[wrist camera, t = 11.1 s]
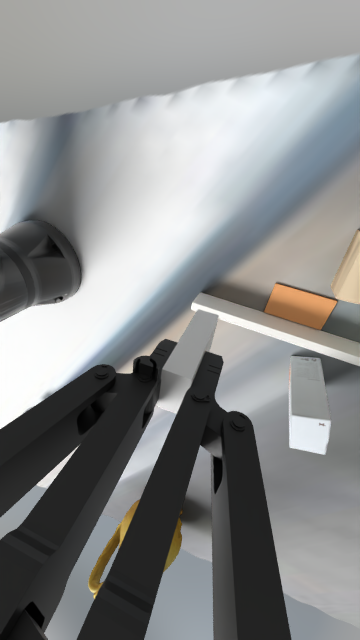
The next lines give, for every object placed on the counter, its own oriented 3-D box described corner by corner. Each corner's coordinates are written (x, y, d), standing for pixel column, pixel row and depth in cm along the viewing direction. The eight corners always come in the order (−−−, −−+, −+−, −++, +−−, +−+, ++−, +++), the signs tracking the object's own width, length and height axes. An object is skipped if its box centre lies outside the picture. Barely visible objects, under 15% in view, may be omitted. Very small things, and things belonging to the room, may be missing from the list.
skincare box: (289, 354, 39) (290, 413, 29) (320, 356, 37) (333, 420, 27) (288, 385, 41) (288, 448, 31) (317, 388, 40) (327, 456, 30)
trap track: (198, 298, 40) (184, 318, 34) (236, 138, 28) (224, 127, 23) (384, 359, 34) (404, 395, 28) (523, 188, 23) (604, 190, 17)
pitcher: (182, 530, 79) (142, 647, 59) (133, 497, 83) (79, 596, 63) (197, 507, 70) (156, 636, 50) (141, 472, 75) (81, 577, 54)
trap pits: (264, 311, 37) (263, 312, 37) (326, 159, 27) (326, 159, 26) (374, 346, 34) (375, 347, 33) (493, 189, 23) (495, 189, 23)
